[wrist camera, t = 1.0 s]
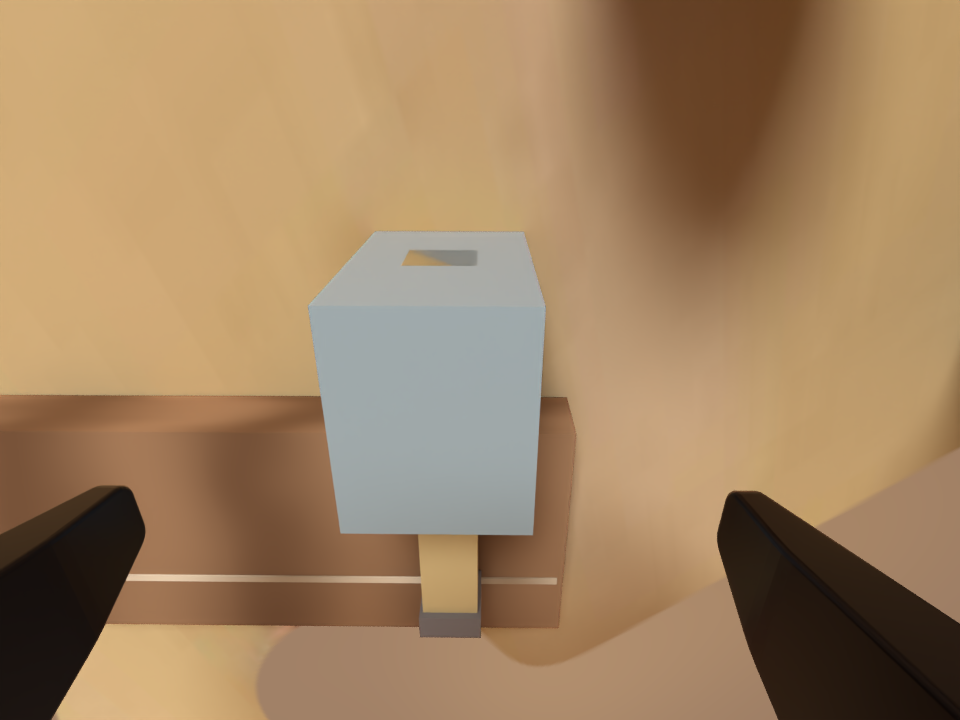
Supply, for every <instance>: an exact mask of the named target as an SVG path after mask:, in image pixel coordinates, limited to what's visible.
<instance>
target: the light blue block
mask: <svg viewBox="0 0 960 720" xmlns="http://www.w3.org/2000/svg"><path fill="white" fill-rule="evenodd" d="M308 310H309V317H310V324H311V331H312V338H313V345H314V352H315V359H316V366H317V373H318V380H319V387H320V394H321V401H322V408H323V415H324V422H325V428H326V435H327V442H328V449H329V456H330V463H331V470H332V477H333V484H334V491H335V498H336V505H337V512H338V519H339V526H340V533H344V534H418V542H419V557H420V573H421V589H422V598H421V606H420V613H419V629H420V637H456V638H459V637H460V638H481V570H478V535H533V526H534V508H535V490H536V472H537V454H538V436H539V419H540V401H541V383H542V365H543V347H544V329H545V312H546V306H545V303H544V299H543V296H542V292H541V289H540V286H539V282H538V279H537V275H536V272H535V269H534V265H533V262H532V258H531V255H530V252H529V248H528V245H527V241H526V238H525V235H524V232H425V231H375V232H374V233H373V234H372V235H371V237H370V238H369V239H368V240H367V241H366V242H365V243H364V244H363V245H362V247H361V248H360V249H359V250H358V251H357V252H356V253H355V254H354V255H353V256H352V258H351V259H350V260H349V261H348V262H347V263H346V264H345V265H344V266H343V267H342V269H341V270H340V271H339V272H338V273H337V274H336V275H335V276H334V277H333V279H332V280H331V281H330V282H329V283H328V284H327V285H326V286H325V287H324V288H323V290H322V291H321V292H320V293H319V294H318V295H317V296H316V297H315V298H314V300H313V301H312V302H311V303H310V304H309V305H308Z"/></svg>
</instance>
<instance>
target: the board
mask: <svg viewBox="0 0 960 720" xmlns="http://www.w3.org/2000/svg"><path fill="white" fill-rule="evenodd" d="M575 443H576V431H575V427H574V423H573V419H572V416H571V412H570V408H569V404H568V400H567V397H541V401H540V419H539V436H538V454H537V472H536V490H535V508H534V526H533V535H478V570H481V627H501V628H558V626H559V615H560V605H561V594H562V583H563V572H564V562H565V551H566V540H567V529H568V518H569V508H570V497H571V486H572V475H573V465H574V454H575ZM100 485H124V486H127V487H129V488H130V489H131V490H132V492H133V494H134V497H135V499H136V502H137V505H138V507H139V510H140V513H141V515H142V518H143V521H144V524H145V530H146V533H145V539H144V542H143V545H142V547H141V549H140V551H139V553H138V555H137V558H136V560H135V562H134V564H133V566H132V568H131V570H130V573H129V575H128V577H127V579H126V581H125V583H124V585H123V588H122V590H121V592H120V594H119V596H118V598H117V600H116V603H115V605H114V607H113V609H112V611H111V613H110V615H109V617H108V620H107V622H106V624H185V625H290V626H396V627H398V626H399V627H419V613H420V606H421V598H422V589H421V573H420V557H419V542H418V534H344V533H340V526H339V519H338V512H337V505H336V498H335V491H334V484H333V477H332V470H331V463H330V456H329V449H328V442H327V435H326V428H325V422H324V415H323V408H322V401H321V396H78V395H0V534H2V533H4V532H6V531H8V530H10V529H12V528H14V527H16V526H18V525H20V524H22V523H24V522H26V521H28V520H30V519H32V518H34V517H36V516H38V515H40V514H42V513H44V512H46V511H48V510H50V509H52V508H53V507H55V506H57V505H59V504H61V503H63V502H65V501H67V500H69V499H71V498H73V497H75V496H77V495H79V494H81V493H83V492H85V491H87V490H89V489H91V488H93V487H96V486H100Z"/></svg>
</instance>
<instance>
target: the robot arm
mask: <svg viewBox="0 0 960 720" xmlns="http://www.w3.org/2000/svg"><path fill="white" fill-rule="evenodd" d="M145 533H146V530H145V524H144V521H143V518H142V515H141V513H140V510H139V507H138V505H137V502H136V499H135V497H134V494H133V492H132V490H131V489H130V488H129V487H127V486H124V485H100V486H96V487H93V488H91V489H89V490H87V491H85V492H83V493H81V494H79V495H77V496H75V497H73V498H71V499H69V500H67V501H65V502H63V503H61V504H59V505H57V506H55V507H53V508H52V509H50V510H48V511H46V512H44V513H42V514H40V515H38V516H36V517H34V518H32V519H30V520H28V521H26V522H24V523H22V524H20V525H18V526H16V527H14V528H12V529H10V530H8V531H6V532H4V533H2V534H0V720H51V719H52V718H53V716H54V714H55V712H56V711H57V709H58V707H59V706H60V704H61V702H62V701H63V699H64V697H65V695H66V694H67V692H68V690H69V689H70V687H71V685H72V683H73V682H74V680H75V678H76V677H77V675H78V673H79V671H80V670H81V668H82V666H83V665H84V663H85V661H86V659H87V658H88V656H89V654H90V652H91V651H92V649H93V647H94V645H95V643H96V642H97V640H98V638H99V636H100V634H101V632H102V630H103V628H104V626H105V624H106V622H107V620H108V617H109V615H110V613H111V611H112V609H113V607H114V605H115V603H116V600H117V598H118V596H119V594H120V592H121V590H122V588H123V585H124V583H125V581H126V579H127V577H128V575H129V573H130V570H131V568H132V566H133V564H134V562H135V560H136V558H137V555H138V553H139V551H140V549H141V547H142V545H143V542H144V539H145ZM717 543H718V548H719V552H720V555H721V559H722V562H723V565H724V569H725V572H726V575H727V578H728V582H729V585H730V588H731V592H732V595H733V598H734V602H735V605H736V608H737V612H738V615H739V618H740V621H741V625H742V628H743V632H744V634H745V637H746V641H747V644H748V647H749V650H750V652H751V655H752V657H753V660H754V662H755V665H756V667H757V670H758V672H759V674H760V677H761V679H762V682H763V684H764V686H765V689H766V691H767V694H768V696H769V699H770V701H771V703H772V705H773V708H774V710H775V713H776V715H777V718H778V720H960V624H959V623H958V622H956V621H955V620H953V619H952V618H950V617H949V616H947V615H946V614H944V613H943V612H941V611H940V610H938V609H937V608H935V607H934V606H932V605H931V604H929V603H927V602H926V601H924V600H923V599H922V598H920V597H918V596H917V595H916V594H914V593H913V592H911V591H909V590H908V589H906V588H905V587H903V586H902V585H900V584H899V583H897V582H896V581H894V580H893V579H891V578H890V577H888V576H886V575H885V574H884V573H882V572H881V571H879V570H878V569H876V568H875V567H873V566H871V565H870V564H869V563H867V562H866V561H864V560H863V559H861V558H860V557H858V556H856V555H855V554H854V553H852V552H850V551H849V550H847V549H846V548H844V547H843V546H841V545H840V544H838V543H837V542H835V541H834V540H832V539H831V538H829V537H828V536H826V535H825V534H823V533H822V532H820V531H819V530H817V529H816V528H814V527H813V526H811V525H810V524H808V523H807V522H805V521H804V520H802V519H801V518H799V517H798V516H796V515H795V514H793V513H792V512H790V511H789V510H787V509H786V508H784V507H782V506H781V505H779V504H778V503H776V502H775V501H773V500H772V499H770V498H769V497H767V496H766V495H764V494H763V493H761V492H758V491H732V492H730V493H729V494H728V496H727V498H726V501H725V505H724V508H723V512H722V516H721V520H720V524H719V528H718V532H717Z"/></svg>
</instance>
